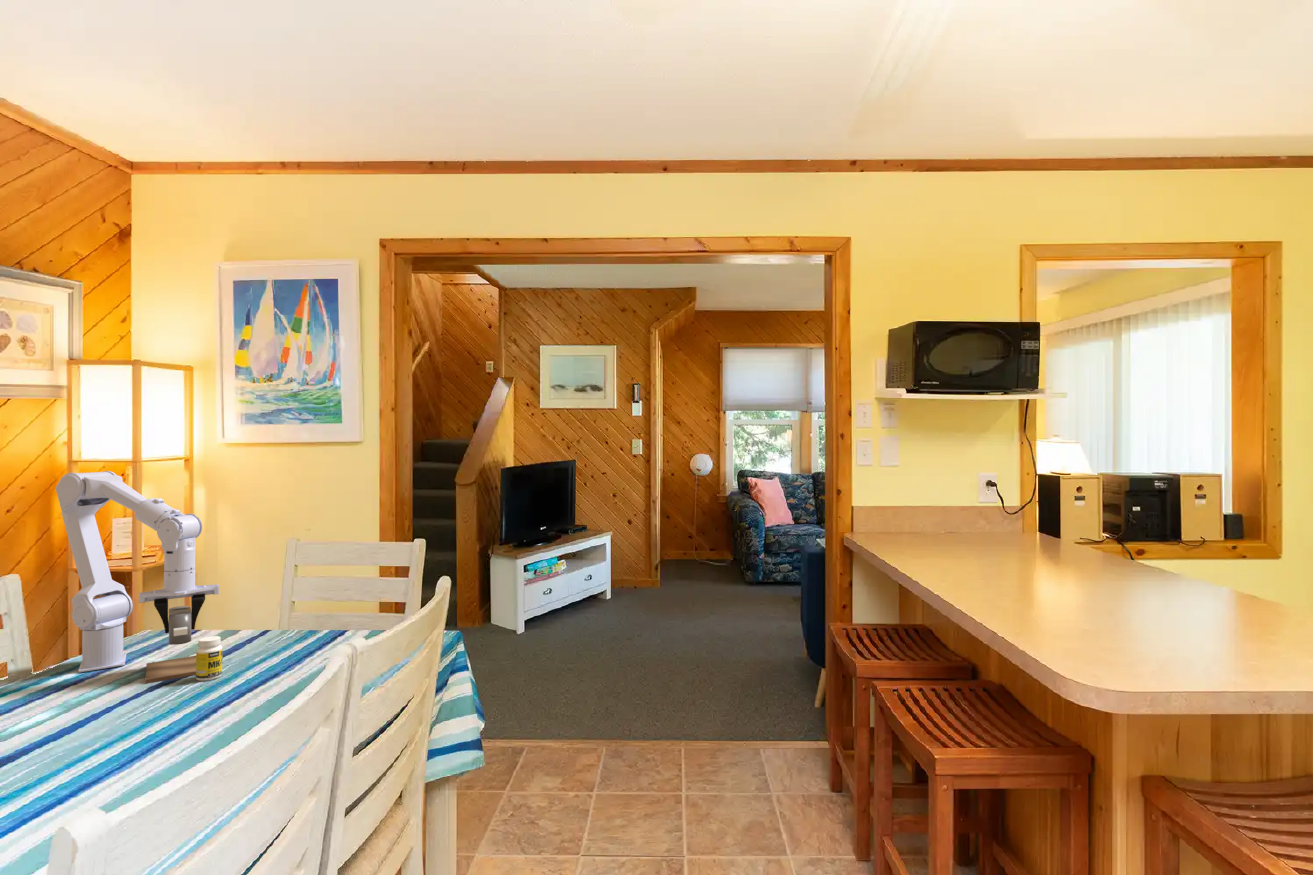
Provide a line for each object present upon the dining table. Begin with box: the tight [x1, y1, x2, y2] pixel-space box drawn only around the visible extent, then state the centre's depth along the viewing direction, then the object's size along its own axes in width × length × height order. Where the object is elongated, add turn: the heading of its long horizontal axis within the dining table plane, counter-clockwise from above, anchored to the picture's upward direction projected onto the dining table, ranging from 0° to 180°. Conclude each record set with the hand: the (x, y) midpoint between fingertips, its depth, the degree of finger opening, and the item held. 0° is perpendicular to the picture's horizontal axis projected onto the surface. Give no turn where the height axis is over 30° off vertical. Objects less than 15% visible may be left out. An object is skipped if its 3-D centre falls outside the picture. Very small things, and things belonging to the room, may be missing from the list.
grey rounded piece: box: [168, 605, 192, 646], centre depth 149 cm, size 13×4×6 cm, turn 36°
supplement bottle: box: [195, 635, 223, 682], centre depth 144 cm, size 5×5×8 cm
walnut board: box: [144, 655, 196, 684], centre depth 150 cm, size 13×12×1 cm
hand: (179, 630), depth 150 cm, fingers closed on grey rounded piece, 4 cm apart
